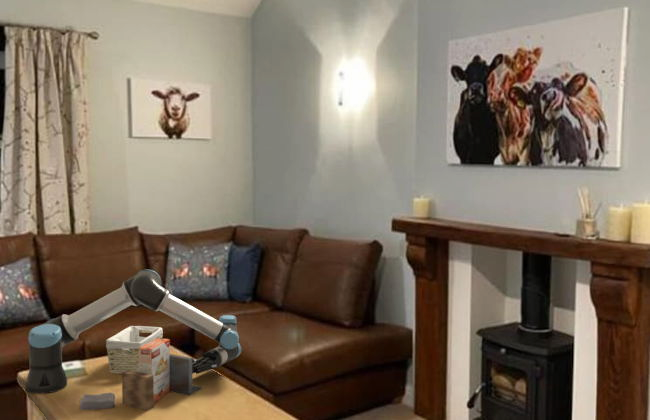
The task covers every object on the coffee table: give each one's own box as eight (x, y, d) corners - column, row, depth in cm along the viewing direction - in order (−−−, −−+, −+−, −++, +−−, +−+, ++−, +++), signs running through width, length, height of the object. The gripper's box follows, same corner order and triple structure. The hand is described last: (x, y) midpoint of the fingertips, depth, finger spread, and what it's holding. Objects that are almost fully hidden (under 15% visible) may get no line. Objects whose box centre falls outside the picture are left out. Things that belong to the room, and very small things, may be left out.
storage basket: (141, 377, 262) (140, 342, 261) (104, 374, 264) (103, 339, 263) (164, 359, 286) (164, 326, 284) (130, 357, 288) (130, 325, 287)
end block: (122, 404, 233) (122, 372, 232) (128, 401, 235) (128, 369, 234) (147, 410, 227) (147, 377, 226) (153, 407, 230) (153, 375, 229)
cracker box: (152, 405, 232) (152, 349, 230) (137, 403, 234) (137, 347, 232) (171, 391, 246) (170, 338, 244) (156, 390, 247) (156, 337, 245)
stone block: (82, 406, 235) (79, 411, 226) (82, 393, 236) (79, 397, 226) (116, 404, 238) (114, 409, 229) (116, 391, 239) (114, 396, 229)
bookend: (160, 389, 248) (159, 354, 247) (173, 382, 255) (173, 348, 254) (189, 395, 242) (188, 359, 241) (202, 388, 249) (201, 353, 248)
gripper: (201, 347, 270) (164, 362, 249) (227, 351, 264) (191, 368, 243) (201, 364, 271) (164, 381, 249) (227, 369, 265) (191, 387, 244)
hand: (178, 374), depth 246 cm, fingers closed
